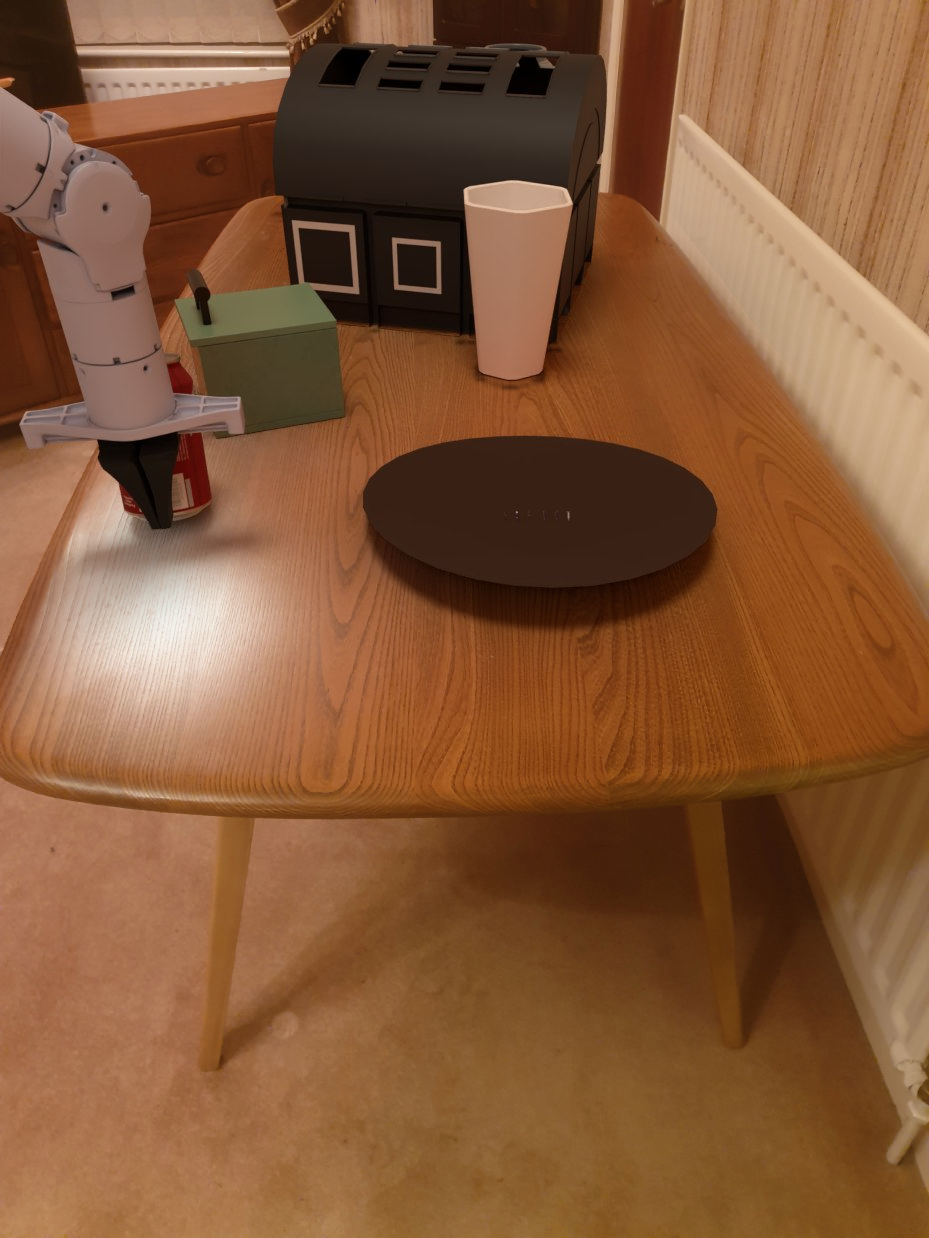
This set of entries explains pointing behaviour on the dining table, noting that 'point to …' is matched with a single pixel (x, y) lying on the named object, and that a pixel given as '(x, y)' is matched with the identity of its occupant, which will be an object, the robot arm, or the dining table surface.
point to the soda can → (182, 460)
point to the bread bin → (275, 378)
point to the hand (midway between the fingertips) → (162, 522)
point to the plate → (540, 510)
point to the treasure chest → (427, 171)
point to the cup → (515, 271)
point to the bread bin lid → (249, 312)
